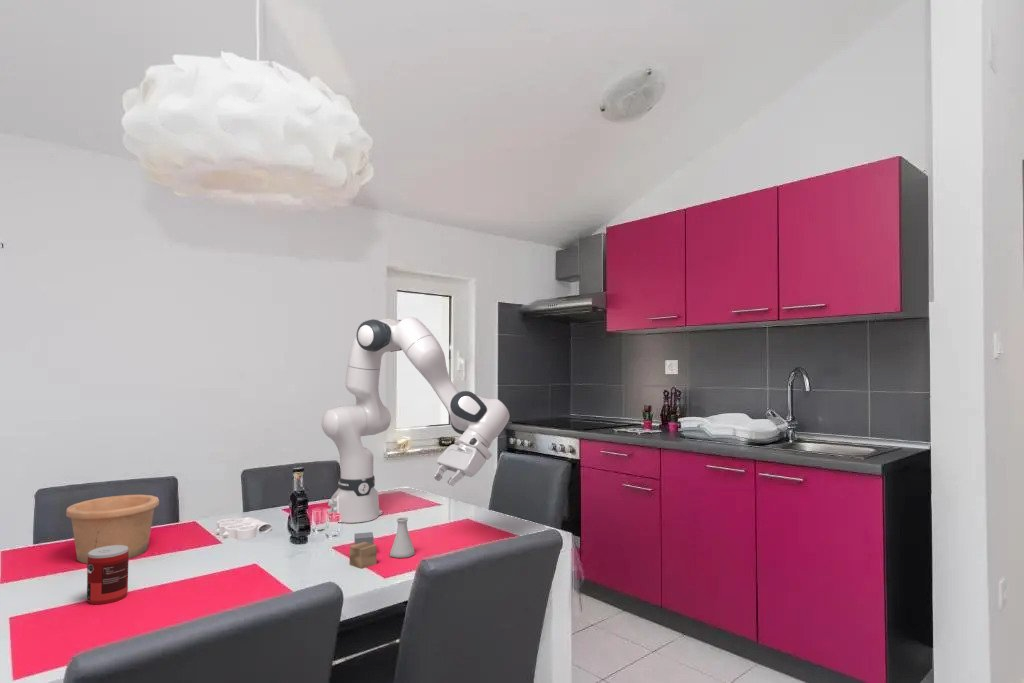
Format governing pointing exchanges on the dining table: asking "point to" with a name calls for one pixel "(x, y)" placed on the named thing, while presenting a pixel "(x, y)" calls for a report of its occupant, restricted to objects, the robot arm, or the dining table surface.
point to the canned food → (107, 574)
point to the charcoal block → (364, 538)
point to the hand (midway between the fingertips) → (442, 481)
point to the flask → (402, 541)
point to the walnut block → (363, 555)
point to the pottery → (112, 523)
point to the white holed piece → (241, 528)
